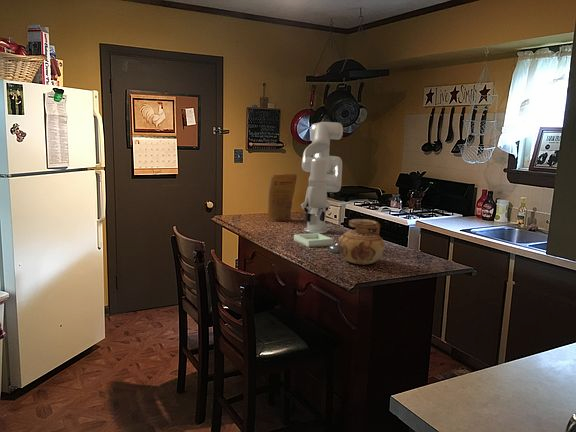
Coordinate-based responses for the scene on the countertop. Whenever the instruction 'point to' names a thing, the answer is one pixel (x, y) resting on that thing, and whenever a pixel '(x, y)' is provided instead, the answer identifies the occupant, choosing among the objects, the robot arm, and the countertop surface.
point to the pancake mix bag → (281, 197)
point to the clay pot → (362, 242)
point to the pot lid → (334, 248)
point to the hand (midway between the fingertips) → (314, 220)
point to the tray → (313, 240)
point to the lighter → (315, 217)
